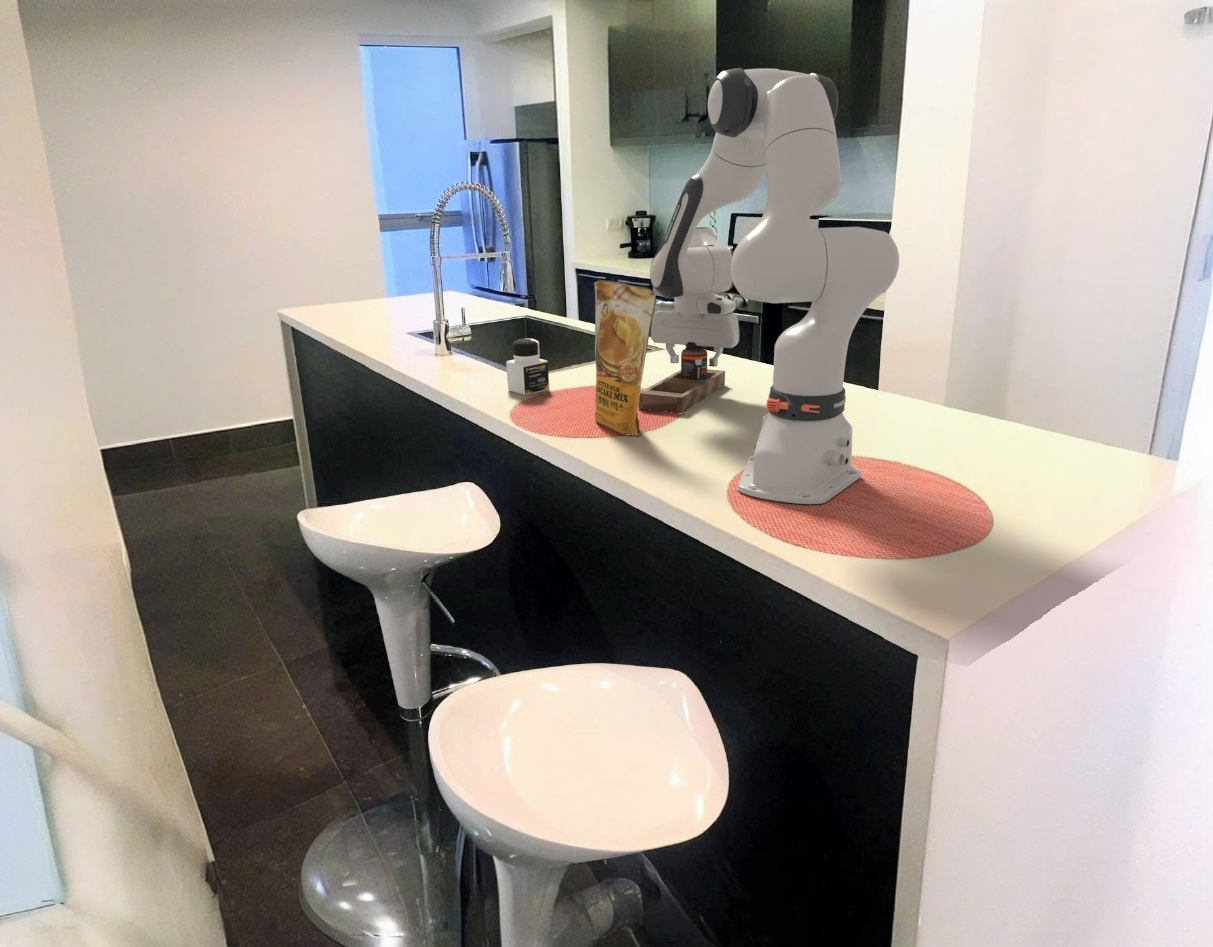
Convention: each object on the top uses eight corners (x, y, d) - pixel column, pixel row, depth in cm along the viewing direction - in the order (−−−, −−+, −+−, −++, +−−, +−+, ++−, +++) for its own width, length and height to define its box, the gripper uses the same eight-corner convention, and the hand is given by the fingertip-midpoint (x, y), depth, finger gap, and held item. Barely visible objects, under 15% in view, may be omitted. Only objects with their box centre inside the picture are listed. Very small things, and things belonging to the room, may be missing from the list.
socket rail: (681, 413, 173) (681, 397, 172) (638, 409, 178) (638, 393, 177) (724, 385, 195) (725, 370, 194) (685, 381, 199) (685, 367, 198)
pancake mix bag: (611, 412, 176) (608, 277, 166) (660, 434, 160) (659, 287, 151) (583, 417, 173) (578, 280, 163) (630, 440, 157) (627, 290, 148)
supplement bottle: (705, 392, 188) (706, 343, 184) (679, 392, 189) (679, 342, 185) (708, 386, 193) (708, 337, 189) (682, 385, 194) (682, 337, 190)
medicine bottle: (525, 396, 191) (522, 344, 187) (507, 390, 196) (504, 340, 192) (550, 390, 195) (547, 339, 191) (531, 385, 200) (528, 335, 196)
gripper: (645, 303, 186) (646, 363, 191) (732, 307, 177) (731, 370, 182) (657, 299, 192) (657, 358, 196) (742, 303, 183) (740, 365, 187)
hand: (693, 364), depth 189 cm, fingers open, 8 cm apart
